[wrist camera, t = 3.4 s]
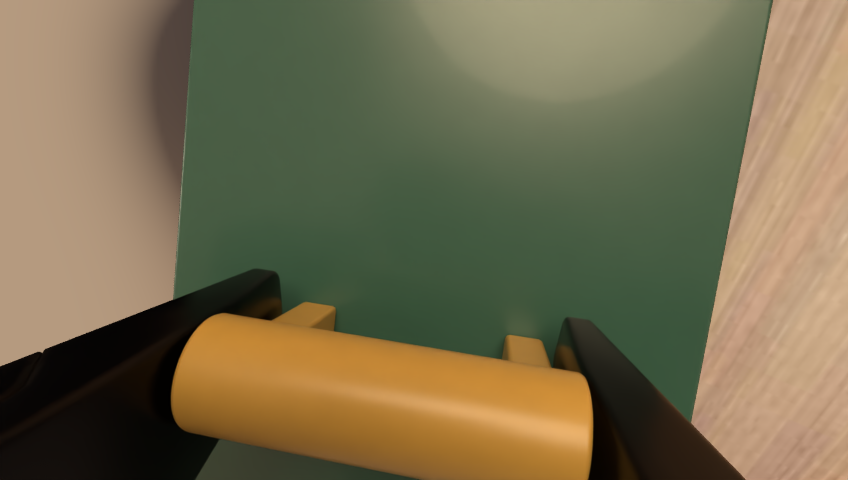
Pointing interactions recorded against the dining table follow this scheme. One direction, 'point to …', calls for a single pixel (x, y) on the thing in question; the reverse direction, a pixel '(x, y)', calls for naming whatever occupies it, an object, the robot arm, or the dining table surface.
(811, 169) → the dining table surface
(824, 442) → the dining table surface
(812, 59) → the dining table surface
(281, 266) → the tin lid
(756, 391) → the dining table surface
